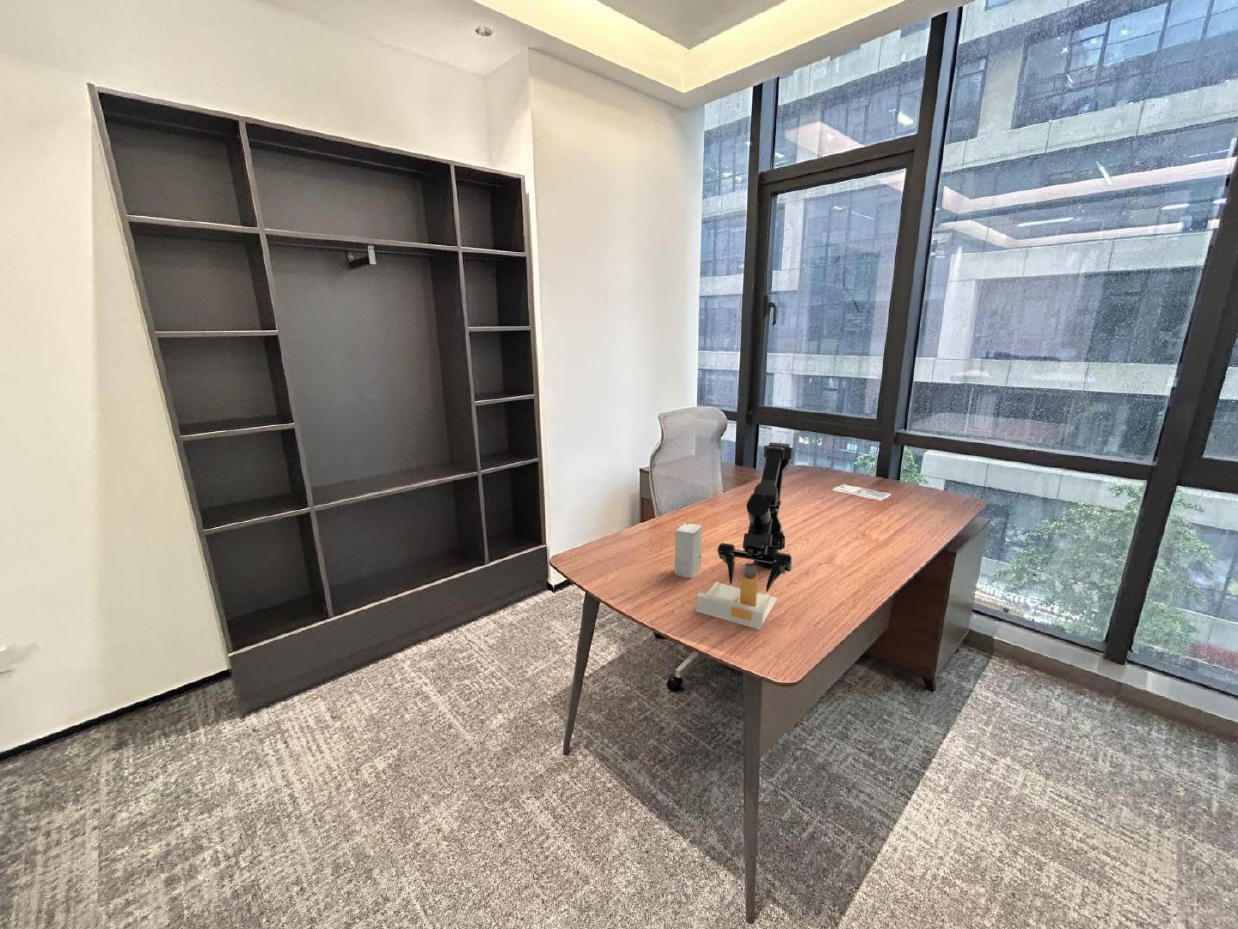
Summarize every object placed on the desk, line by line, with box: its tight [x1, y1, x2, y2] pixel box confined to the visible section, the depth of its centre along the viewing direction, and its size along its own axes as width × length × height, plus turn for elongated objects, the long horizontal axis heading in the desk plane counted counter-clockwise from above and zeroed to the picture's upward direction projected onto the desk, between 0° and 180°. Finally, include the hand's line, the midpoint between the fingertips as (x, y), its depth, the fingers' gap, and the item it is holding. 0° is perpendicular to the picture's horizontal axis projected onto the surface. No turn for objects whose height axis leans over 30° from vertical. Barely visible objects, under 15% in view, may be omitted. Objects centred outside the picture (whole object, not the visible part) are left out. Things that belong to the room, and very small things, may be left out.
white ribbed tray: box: [695, 581, 778, 630], centre depth 135 cm, size 18×17×5 cm
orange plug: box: [740, 563, 760, 607], centre depth 130 cm, size 4×4×13 cm
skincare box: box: [674, 522, 703, 579], centre depth 153 cm, size 8×6×15 cm
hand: (748, 587), depth 129 cm, fingers open, 9 cm apart
